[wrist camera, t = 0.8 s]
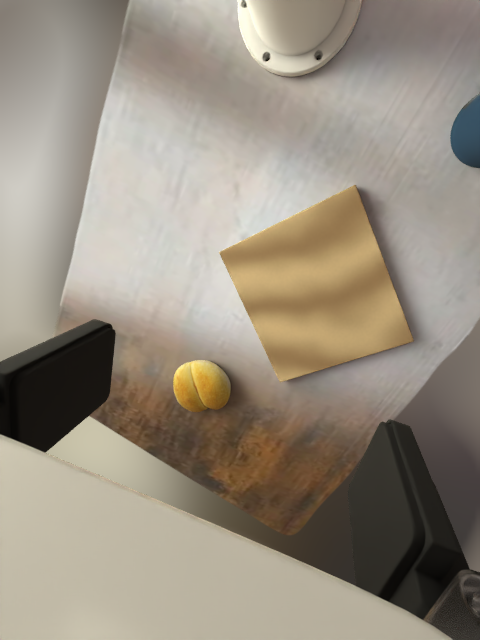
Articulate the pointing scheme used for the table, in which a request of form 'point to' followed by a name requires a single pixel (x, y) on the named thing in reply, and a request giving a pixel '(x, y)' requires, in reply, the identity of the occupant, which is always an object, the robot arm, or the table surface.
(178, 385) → the bread roll
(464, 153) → the soda can
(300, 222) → the breadboard
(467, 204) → the table surface
